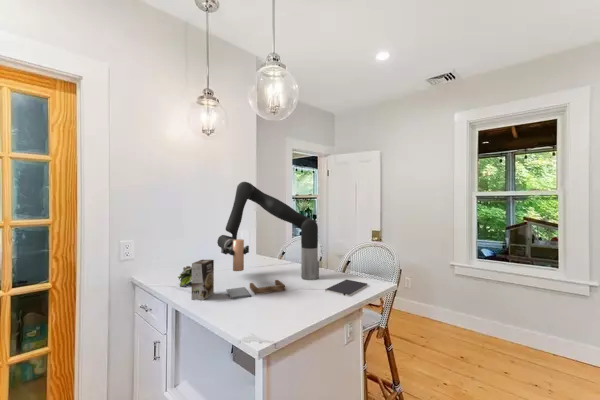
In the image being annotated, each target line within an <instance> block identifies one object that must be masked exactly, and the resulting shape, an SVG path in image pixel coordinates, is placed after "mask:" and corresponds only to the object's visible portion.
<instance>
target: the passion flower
mask: <svg viewBox="0 0 600 400" xmlns="http://www.w3.org/2000/svg"><path fill="white" fill-rule="evenodd" d="M182 270H183V271H181V272H180V274H179V276H177V278H178V280H179V281H180V283H179V287H180V288H181V287H182V286H184V285H185V286H187V285H188V284H189V283H191V282H192V266H190V265H187V266H186V267H183V268H182Z"/></svg>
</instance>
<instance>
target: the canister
mask: <svg viewBox="0 0 600 400" xmlns="http://www.w3.org/2000/svg"><path fill="white" fill-rule="evenodd" d="M244 245H245V240H244V239H241V238H239V239H238V238H237V239H236V240H233V250H234V255H232V271H233V272H243V271H244V270H245V268H244V267H245V265H244V263H245V260H244V259H245V257H244V256H245V254H244V247H245V246H244Z"/></svg>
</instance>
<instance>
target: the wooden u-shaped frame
mask: <svg viewBox="0 0 600 400" xmlns="http://www.w3.org/2000/svg"><path fill="white" fill-rule="evenodd" d="M274 284H275V285H270V286H261V287H257V286H256V285H255V284H254V282H250V283H249V289H250V290H251V292H252V293H253V294H254V295H261V294H267V293H277V292H283V291H284V292H285V291H286V285H285V284H284V283H283V282H281V281H280V280H279V279H275V280H274Z"/></svg>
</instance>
